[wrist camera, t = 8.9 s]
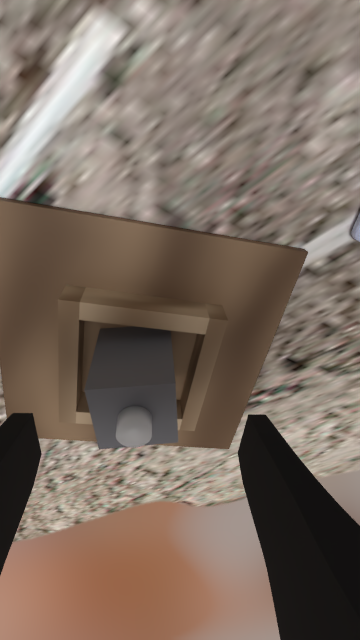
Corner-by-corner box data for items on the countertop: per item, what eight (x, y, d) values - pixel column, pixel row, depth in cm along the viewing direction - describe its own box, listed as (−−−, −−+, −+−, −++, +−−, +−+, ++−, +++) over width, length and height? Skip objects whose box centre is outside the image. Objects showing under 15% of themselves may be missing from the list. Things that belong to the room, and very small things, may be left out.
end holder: (304, 249, 17) (323, 263, 15) (227, 443, 25) (233, 469, 23) (-16, 195, 15) (-41, 204, 13) (11, 430, 22) (-1, 458, 21)
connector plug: (169, 323, 18) (177, 399, 13) (172, 376, 20) (180, 459, 15) (100, 328, 18) (79, 407, 13) (110, 381, 20) (96, 467, 15)
